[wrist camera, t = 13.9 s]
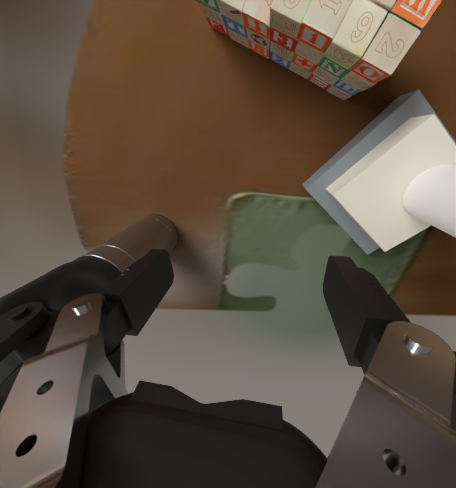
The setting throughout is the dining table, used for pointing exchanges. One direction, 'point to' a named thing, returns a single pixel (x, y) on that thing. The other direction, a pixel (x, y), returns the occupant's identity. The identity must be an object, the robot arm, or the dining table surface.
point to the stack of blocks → (325, 36)
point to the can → (434, 197)
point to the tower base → (357, 152)
